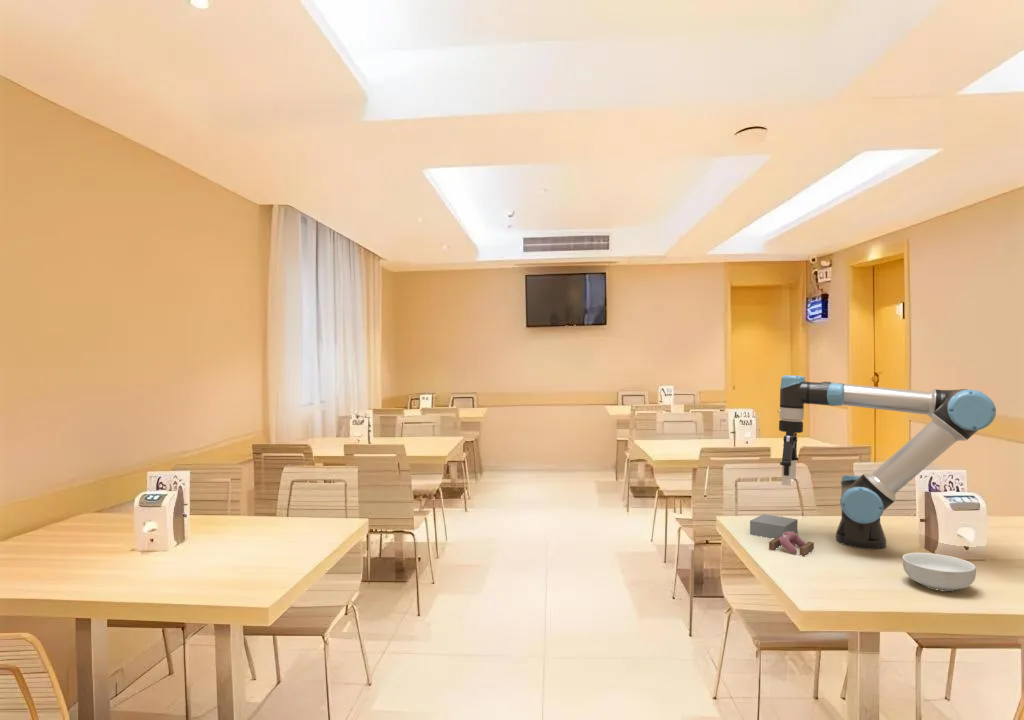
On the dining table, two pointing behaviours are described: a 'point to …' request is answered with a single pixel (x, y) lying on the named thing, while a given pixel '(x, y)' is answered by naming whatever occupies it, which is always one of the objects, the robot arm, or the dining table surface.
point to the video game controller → (791, 541)
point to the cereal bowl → (939, 571)
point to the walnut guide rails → (803, 549)
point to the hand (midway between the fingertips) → (788, 482)
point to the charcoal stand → (772, 526)
